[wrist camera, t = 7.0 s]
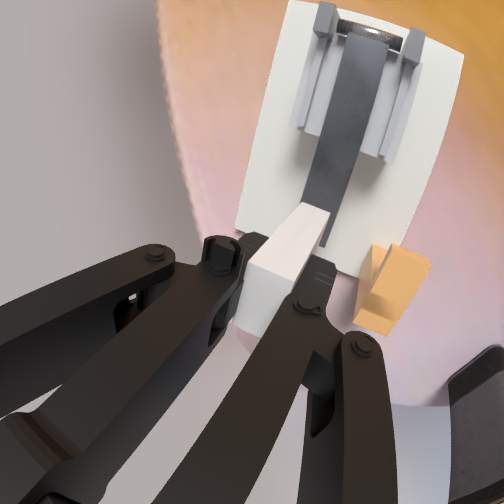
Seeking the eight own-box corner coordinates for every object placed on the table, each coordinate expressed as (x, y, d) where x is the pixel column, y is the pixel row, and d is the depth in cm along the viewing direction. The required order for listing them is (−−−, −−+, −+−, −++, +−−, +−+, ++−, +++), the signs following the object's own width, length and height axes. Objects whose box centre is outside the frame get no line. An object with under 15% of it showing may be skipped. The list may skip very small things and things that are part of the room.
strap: (341, 21, 15) (339, 15, 14) (402, 40, 14) (404, 35, 13) (283, 226, 23) (279, 231, 22) (335, 246, 22) (333, 253, 21)
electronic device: (464, 395, 29) (465, 522, 13) (443, 380, 30) (440, 519, 13) (513, 357, 24) (539, 489, 7) (495, 338, 25) (524, 485, 8)
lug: (387, 210, 24) (392, 248, 17) (415, 223, 23) (431, 266, 16) (360, 270, 27) (352, 323, 20) (387, 281, 26) (387, 336, 20)
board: (292, 4, 19) (263, -31, 13) (460, 57, 16) (491, 37, 9) (238, 224, 32) (200, 255, 25) (378, 280, 28) (376, 330, 22)
